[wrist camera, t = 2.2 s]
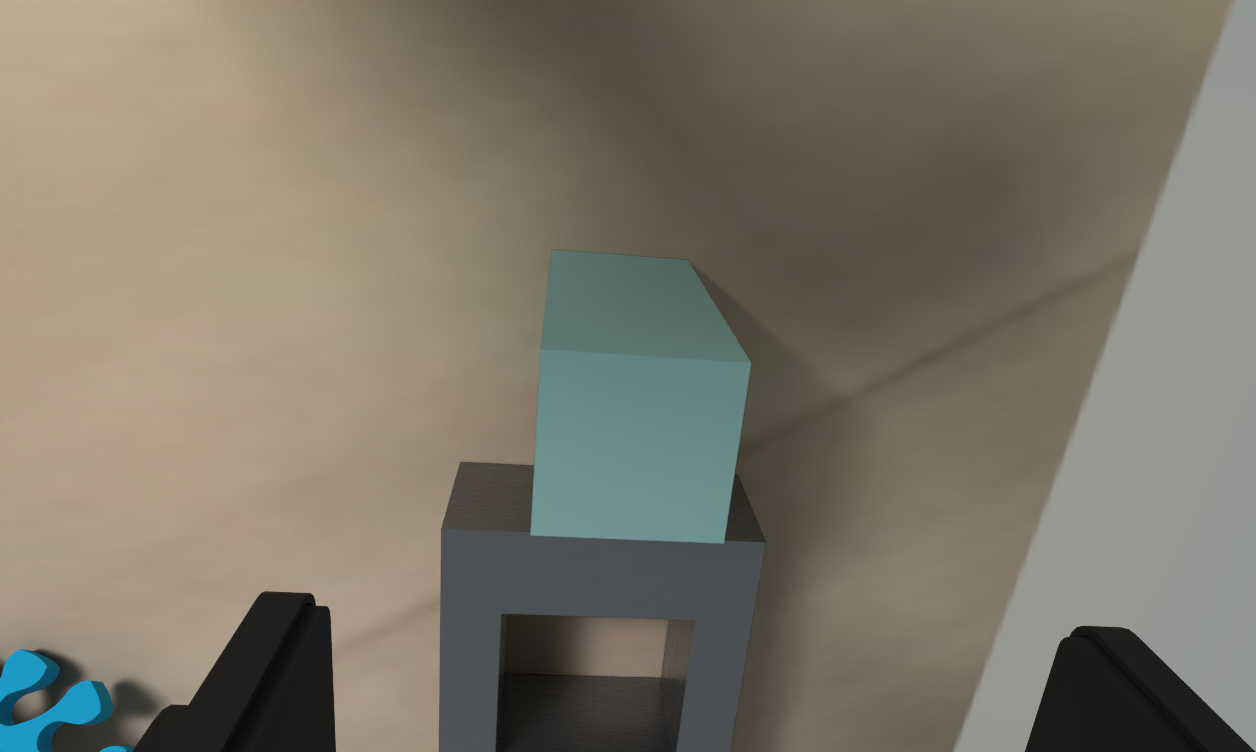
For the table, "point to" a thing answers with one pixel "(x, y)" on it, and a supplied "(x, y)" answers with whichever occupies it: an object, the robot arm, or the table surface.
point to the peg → (635, 402)
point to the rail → (596, 587)
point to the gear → (27, 746)
